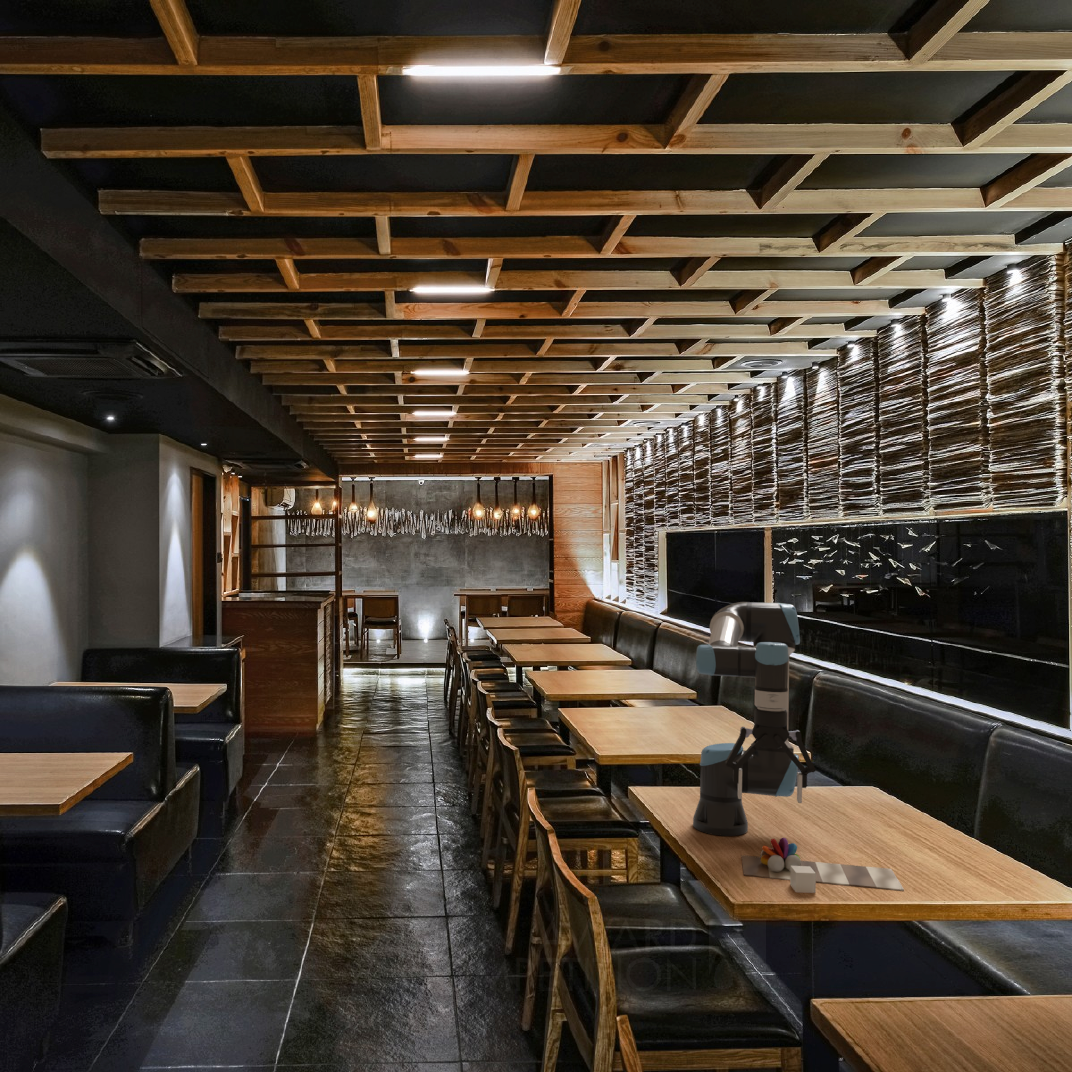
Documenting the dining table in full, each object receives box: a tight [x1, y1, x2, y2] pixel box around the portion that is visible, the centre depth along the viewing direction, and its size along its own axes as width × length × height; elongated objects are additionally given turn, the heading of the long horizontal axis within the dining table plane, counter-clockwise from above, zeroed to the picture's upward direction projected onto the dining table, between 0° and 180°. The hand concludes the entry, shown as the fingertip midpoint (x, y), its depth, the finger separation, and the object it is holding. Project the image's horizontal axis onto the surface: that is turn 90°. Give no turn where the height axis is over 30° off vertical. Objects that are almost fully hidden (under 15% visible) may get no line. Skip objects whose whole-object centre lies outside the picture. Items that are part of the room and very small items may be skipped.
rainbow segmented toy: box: [760, 837, 802, 872], centre depth 209 cm, size 8×10×7 cm
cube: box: [789, 866, 817, 894], centre depth 196 cm, size 4×4×4 cm
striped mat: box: [741, 854, 905, 892], centre depth 207 cm, size 36×14×1 cm, turn 79°
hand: (769, 799), depth 200 cm, fingers open, 13 cm apart
